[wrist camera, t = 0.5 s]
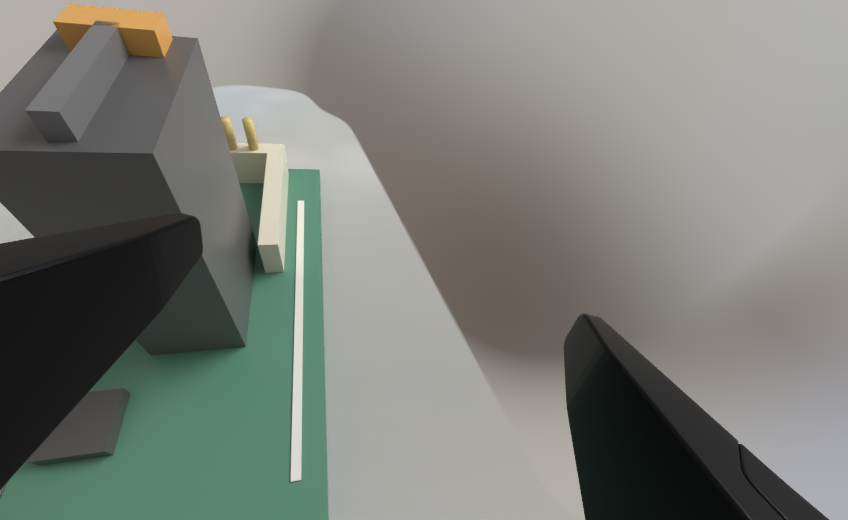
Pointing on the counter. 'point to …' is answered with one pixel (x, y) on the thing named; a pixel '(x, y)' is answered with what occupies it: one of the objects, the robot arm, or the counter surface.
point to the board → (209, 394)
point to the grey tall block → (131, 159)
